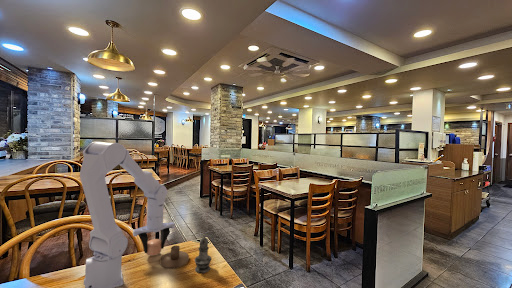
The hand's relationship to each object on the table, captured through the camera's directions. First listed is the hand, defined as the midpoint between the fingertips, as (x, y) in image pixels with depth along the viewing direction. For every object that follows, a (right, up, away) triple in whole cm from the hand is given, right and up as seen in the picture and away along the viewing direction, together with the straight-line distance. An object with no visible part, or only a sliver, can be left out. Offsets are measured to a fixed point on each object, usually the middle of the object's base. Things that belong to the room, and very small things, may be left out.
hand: (153, 249), depth 85 cm
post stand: (+9, -3, -3) cm, 10 cm away
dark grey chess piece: (+21, -4, -7) cm, 22 cm away
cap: (0, -1, 0) cm, 1 cm away
